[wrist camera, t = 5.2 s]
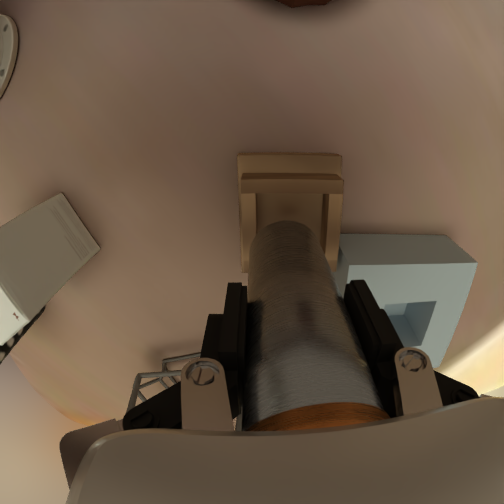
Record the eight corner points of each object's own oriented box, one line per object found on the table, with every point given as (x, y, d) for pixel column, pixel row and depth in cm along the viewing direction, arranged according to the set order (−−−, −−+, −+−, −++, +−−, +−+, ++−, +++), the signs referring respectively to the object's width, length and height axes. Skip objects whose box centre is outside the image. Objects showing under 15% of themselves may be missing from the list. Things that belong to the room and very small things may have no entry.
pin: (246, 219, 16) (223, 511, 4) (324, 218, 16) (446, 478, 4) (248, 286, 18) (238, 542, 6) (319, 285, 18) (381, 526, 6)
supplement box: (62, 189, 26) (-28, 241, 14) (103, 249, 28) (31, 325, 17) (28, 226, 27) (-48, 282, 16) (64, 278, 30) (0, 349, 19)
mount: (238, 152, 24) (233, 159, 20) (337, 153, 24) (350, 161, 20) (242, 264, 28) (239, 287, 25) (330, 264, 28) (339, 286, 24)
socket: (333, 233, 27) (349, 265, 21) (445, 235, 26) (477, 262, 20) (321, 338, 32) (329, 380, 26) (419, 331, 31) (438, 366, 26)
